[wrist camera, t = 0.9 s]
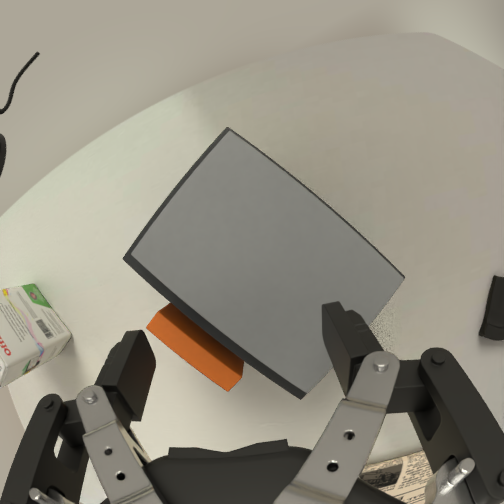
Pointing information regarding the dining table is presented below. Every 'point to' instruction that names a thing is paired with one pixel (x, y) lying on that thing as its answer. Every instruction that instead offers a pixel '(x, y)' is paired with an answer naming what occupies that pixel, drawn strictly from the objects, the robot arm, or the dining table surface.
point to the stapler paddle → (196, 346)
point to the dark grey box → (260, 261)
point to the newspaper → (401, 477)
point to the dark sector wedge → (494, 311)
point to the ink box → (27, 332)
